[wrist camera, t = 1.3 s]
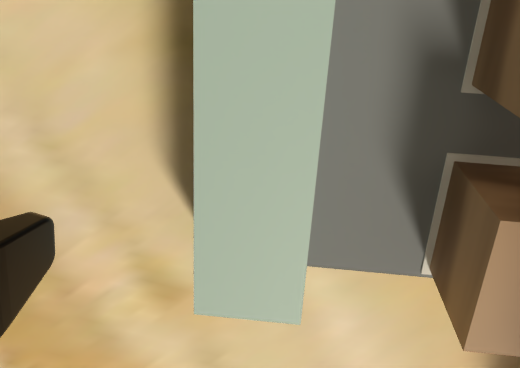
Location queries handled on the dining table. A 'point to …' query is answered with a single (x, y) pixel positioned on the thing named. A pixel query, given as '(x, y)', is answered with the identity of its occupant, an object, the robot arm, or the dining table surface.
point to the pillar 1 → (500, 55)
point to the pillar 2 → (481, 257)
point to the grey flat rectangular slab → (400, 130)
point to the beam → (256, 152)
